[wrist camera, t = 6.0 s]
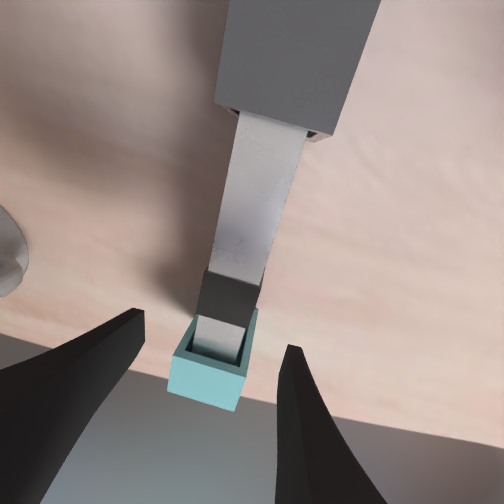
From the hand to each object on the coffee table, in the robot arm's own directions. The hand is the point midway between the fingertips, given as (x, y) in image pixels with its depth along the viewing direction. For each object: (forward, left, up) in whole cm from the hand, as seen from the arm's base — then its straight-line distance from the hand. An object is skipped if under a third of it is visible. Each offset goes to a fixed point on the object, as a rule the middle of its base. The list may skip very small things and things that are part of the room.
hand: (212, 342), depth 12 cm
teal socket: (0, +6, -9) cm, 10 cm away
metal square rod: (0, -4, -6) cm, 7 cm away
